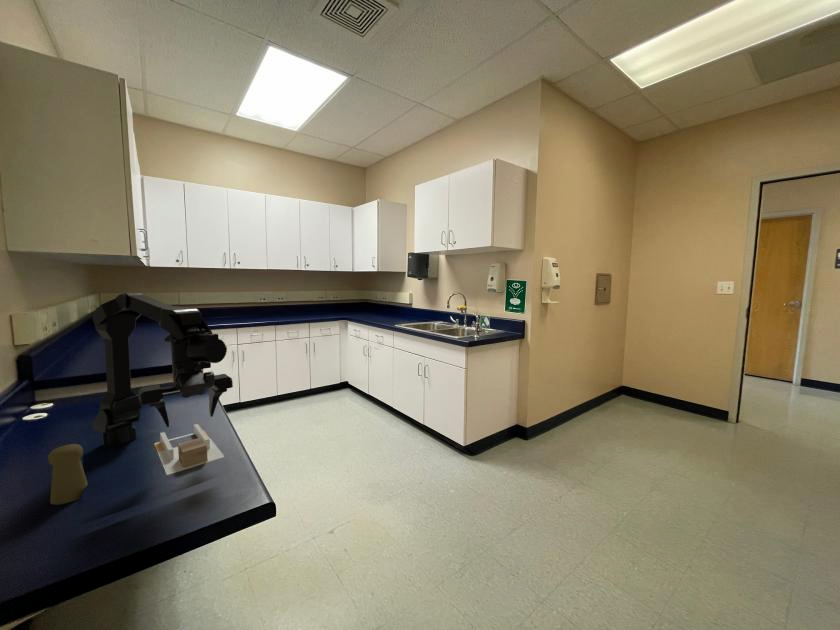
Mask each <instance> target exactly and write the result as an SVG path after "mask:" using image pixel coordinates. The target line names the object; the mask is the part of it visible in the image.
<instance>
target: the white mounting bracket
mask: <svg viewBox="0 0 840 630" xmlns="http://www.w3.org/2000/svg"><path fill="white" fill-rule="evenodd" d="M159 435H160V436H159V437H160V438H159V439H160V441H157V442H155V443H153V444H154V447H155V449H156V452H157V454H158V456H159V459H160V462H161V465H162V466H163V469H164V471H165V474H166V476H169V475H172V474H175V473H178V472H182V471H185V470H188V469H192V468H195V467H197V466H200V465H204V464H207V463H210V462H213V461H216V460H219V459H223V458H225V455H224V454H223V453H222V451H221V450H220V448H219V447H217V446H218V445H216V443H215V442H214V441H213V440H212V439H211V437H209V435H208V434H207V432H206V431H205V430H203V428H202V427H201V426H200V425H199V424H198V423H196V424H193V433H189V434H185V435H181V436H177V437H174V438H168V436H167V434H166V432H165V431H162V432H160V433H159ZM194 435H195V436H196V439H197V438H202V440H203V441H204V442H205V444H206V445H207V459H208V461H205V462H202V463H198V464H195V465H192V466H189V467H186V468H183V466H182V464H181V462H180V460H179V453H178V446H175V447H173V445H172V444H171V442H170V441H174V440H178V439H183V438H186V437H189V436H194Z"/></svg>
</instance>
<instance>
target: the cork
mask: <svg viewBox="0 0 840 630" xmlns="http://www.w3.org/2000/svg"><path fill="white" fill-rule="evenodd" d="M83 455H84V449H83V446H82V445H80V444H77V443H71V444H66V445H65V444H64V445H61V446H59V447H56V448H54V449H52V450H51V451H50V452H49V454H48V457H47V458H48V459H47V460H48V463H49V465H51V466H52V475H51V485H50V486H51V487H50V501H49V503H50V504H51V505H56V506H58V505H65V504H68V503H72V502H74V501H77V500H79V499H81V498H83V493H84V492H83V490H84V489H85V488H87V487H88V485H89V483H88V480H87V477H86V474H85V471H84V466H83V464H82V460H81V458H82V456H83Z"/></svg>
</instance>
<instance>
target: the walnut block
mask: <svg viewBox="0 0 840 630" xmlns="http://www.w3.org/2000/svg"><path fill="white" fill-rule="evenodd" d="M177 447H178V453H179V460H180V462H181V464H182V466H183V468H186V467H189V466H192V465H195V464H198V463H202V462H205V461H208V459H207V445H206V444H205V442H204V441H203V440H202V438H197V437H196V438H194V439H190V440H187V441H183V442H180V443H179V442H178V443H177Z"/></svg>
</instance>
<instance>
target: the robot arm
mask: <svg viewBox="0 0 840 630" xmlns="http://www.w3.org/2000/svg"><path fill="white" fill-rule="evenodd" d="M141 316H144V317H147V318H148V319H151V320H154V321H156V322H158V323H159V327H160V328H161V329H162V330H164V331H165V332H167V333H169V334H168V335H167V336H166V337H165V338H164V342H168V343H170V354H171V355H170V356H171V367H172V368H171V369H172V383H173V386H166V387H161V386H160V384H155V385H149V386H144V387H143V386H141V388H140V389H139V390H138V394H137V393H136V392H134V390H133V389H132V383H131V381H132V379H131V376H132V375H131V361H130V360H131V359H130V342H129V341H130V340H129V339H130V336H131V335H132V334H133V332H134V331H135V329H136V325H137V320H138V319H139V318H140V317H141ZM91 318H92V321H93V323H94V328H95V331H96V332H97V333H98V334H99V335H100V336H101V337H102V338H103V340H104V355H105V358H104V359H105V374H106V389H107V390H106V393H105V395H104V396H103V397H102V399H101V401H100V403H99V411H98V413H97V414H96V416H95V418H94V419H93V420H92V422H91V424H92V428H93V431H95V432H99V433H102V441H103V442H102V443H103V448H104V449H106V448H114V447H119V446H124V445H125V444H129V443H130V442H133V441H136V440H137V431H136V427H135V425H133V423H137V422H139V421H140V418H141V414H142V413H141V412H142V409H143V407H142V405H147V406H148V407H151V408H152V407H155V409H156V410H157V411H158V413H159V414H160V416H161V418H162V420H163V422H164V424H165V426H166V428H170V420H169V416H168V413H167V408H166V402H165V400H164V397H165V396H171V395H175V394H176V395H177V394H180V396H181V397H182V398H184V399H185V398H186V399H187V398H190V397H193V396H198V395H199V396H202V395H204V394H206V392H207V389H208V390H209V391H208V393H209V394H208V397H209V398H208V402H209V403H208V406H209V407H208V409H209V410H208V411H209V416H210V417H211V418H212V417H213V416H214V413H215V410H216V408H217V404H218V401H219V399H220V397H221V396H222V395H223V394H224V393H226V392H227V391H228V389H232V388H233V387H234V385H233V383H234V382H233V378H232V377H230V376H229V375H227V374H226V373H219V374H215V373H214V371H212V370H211V371H206V372H203V371H202V366H201V363H209V364H218V363H220V362H222V361H223V360H224V359H225V357H226V356H227V352H228V348H227V347H228V346H226V343H225V342H224V341H223V340H222V339H220V338H219V334H218V333H213V331H212V330H211V327H210V326H209V325H208V323H207V321H206V319H205V318H204V317H203V315H202V313H201V311H200V310H199V309H197V308H195V307H194V308H193V307H189V306H188V307H187V306H175V305H171V304H168V303H165V302H162V301H160V300H158V299H155V298H152V297H150V296H147V295H145V293H141V292H123V293H121V294H118V295H117V296H116V297H115V298H113V299H110V300H109V301H106V302H104V303H102V304H100V305H99V306H98V307H97V308H96V309H95V310H94V311H93V313H92V316H91Z"/></svg>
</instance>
